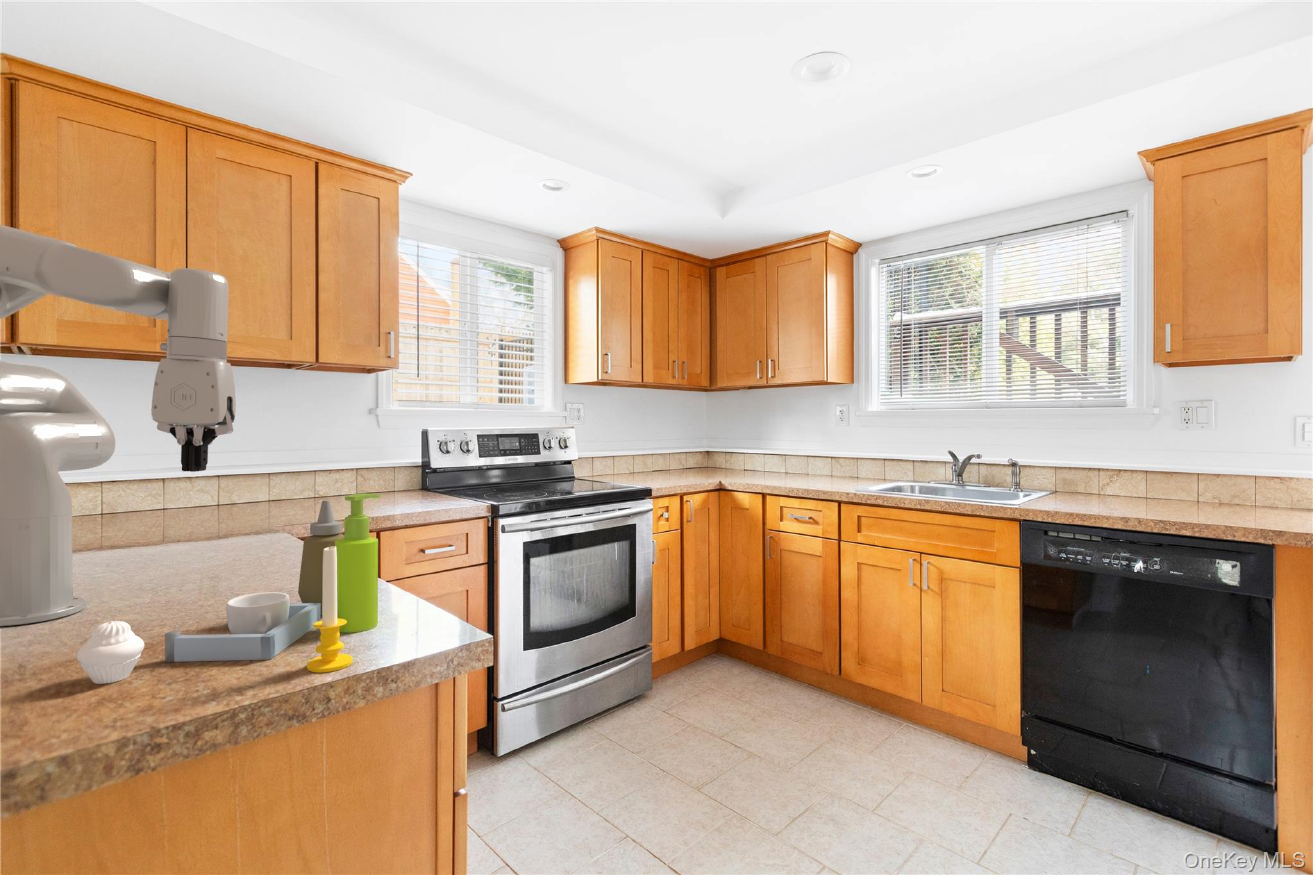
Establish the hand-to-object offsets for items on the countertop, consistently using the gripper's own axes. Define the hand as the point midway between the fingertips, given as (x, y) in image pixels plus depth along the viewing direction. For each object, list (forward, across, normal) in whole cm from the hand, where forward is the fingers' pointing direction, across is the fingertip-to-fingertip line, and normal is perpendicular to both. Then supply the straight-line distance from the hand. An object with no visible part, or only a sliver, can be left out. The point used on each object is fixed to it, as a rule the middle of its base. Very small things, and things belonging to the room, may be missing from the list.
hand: (194, 470), depth 99 cm
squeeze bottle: (+23, +19, +4) cm, 30 cm away
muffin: (+23, +6, -24) cm, 34 cm away
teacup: (+23, +16, -9) cm, 29 cm away
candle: (+22, +30, -19) cm, 42 cm away
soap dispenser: (+22, +27, -3) cm, 35 cm away
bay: (+23, +15, -10) cm, 29 cm away
